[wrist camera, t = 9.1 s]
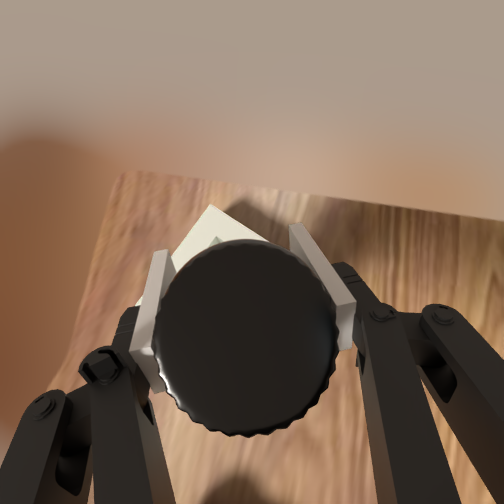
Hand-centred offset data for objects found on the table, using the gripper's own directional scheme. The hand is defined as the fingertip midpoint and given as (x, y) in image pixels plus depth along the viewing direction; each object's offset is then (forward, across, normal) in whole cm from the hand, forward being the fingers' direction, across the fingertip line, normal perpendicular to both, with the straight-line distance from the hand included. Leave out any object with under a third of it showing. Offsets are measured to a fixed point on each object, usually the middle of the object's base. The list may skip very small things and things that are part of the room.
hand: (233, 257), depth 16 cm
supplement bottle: (0, 0, -5) cm, 5 cm away
